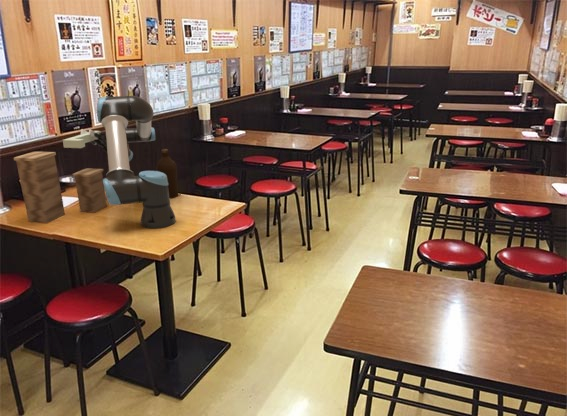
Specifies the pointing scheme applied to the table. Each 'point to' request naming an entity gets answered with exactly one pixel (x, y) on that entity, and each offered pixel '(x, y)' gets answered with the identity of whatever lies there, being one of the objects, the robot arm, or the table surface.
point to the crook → (78, 140)
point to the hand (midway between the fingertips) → (85, 131)
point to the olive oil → (169, 172)
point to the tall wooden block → (40, 186)
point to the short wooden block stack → (90, 190)
